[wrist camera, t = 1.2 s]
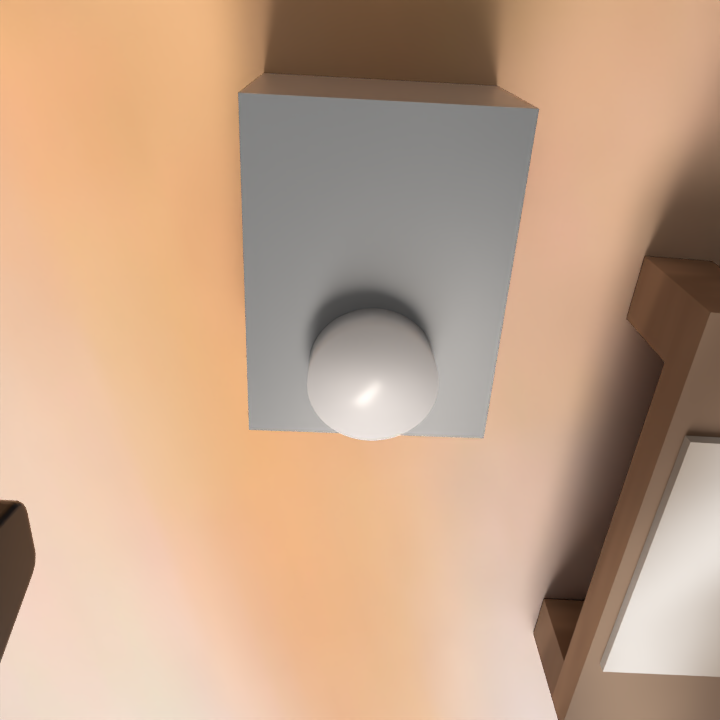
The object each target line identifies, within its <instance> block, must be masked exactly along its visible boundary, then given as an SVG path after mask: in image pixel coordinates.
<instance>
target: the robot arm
mask: <svg viewBox="0 0 720 720" xmlns="http://www.w3.org/2000/svg"><path fill="white" fill-rule="evenodd" d="M34 566H35V548H34V543H33V538H32V533H31V528H30V523H29V518H28V513H27V510H26V507H25V506H24V504H23V503H21V502H19V501H13V500H0V662H1V659H2V656H3V654H4V651H5V648H6V645H7V643H8V640H9V637H10V634H11V632H12V629H13V626H14V623H15V621H16V618H17V615H18V612H19V610H20V607H21V604H22V601H23V599H24V596H25V593H26V590H27V588H28V585H29V582H30V579H31V577H32V574H33V570H34Z"/></svg>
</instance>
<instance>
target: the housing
mask: <svg viewBox="0 0 720 720" xmlns="http://www.w3.org/2000/svg"><path fill="white" fill-rule="evenodd" d="M238 100H239V131H240V162H241V193H242V224H243V255H244V286H245V317H246V348H247V379H248V410H249V430H271V431H298V432H326V433H340V434H343V435H345V436H348V437H351V438H355V439H360V440H384V439H389V438H393V437H396V436H399V435H408V436H436V437H464V438H484V432H485V426H486V420H487V414H488V408H489V403H490V397H491V391H492V385H493V379H494V373H495V367H496V361H497V355H498V349H499V343H500V337H501V331H502V325H503V319H504V313H505V308H506V302H507V296H508V290H509V284H510V278H511V272H512V266H513V260H514V254H515V248H516V242H517V236H518V230H519V224H520V218H521V213H522V207H523V201H524V195H525V189H526V183H527V177H528V171H529V165H530V159H531V153H532V147H533V141H534V135H535V129H536V123H537V118H538V112H539V109H538V108H537V107H535V106H533V105H531V104H529V103H528V102H526V101H524V100H522V99H520V98H519V97H517V96H515V95H513V94H511V93H509V92H508V91H506V90H504V89H502V88H500V87H499V86H493V85H475V84H456V83H438V82H420V81H402V80H383V79H365V78H347V77H329V76H311V75H292V74H274V73H263V74H262V75H260V76H259V77H258V78H257V79H255V80H254V81H253V82H251V83H250V84H249V85H247V86H246V87H245V88H244V89H242V90H241V91H240V92H238Z"/></svg>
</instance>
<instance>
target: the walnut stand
mask: <svg viewBox="0 0 720 720" xmlns="http://www.w3.org/2000/svg"><path fill="white" fill-rule="evenodd" d="M627 320H628V321H629V322H630V323H631V325H632V326H633V327H634V328H635V329H636V330H637V331H638V333H639V334H640V335H641V336H642V337H643V338H644V339H645V340H646V342H647V343H648V344H649V345H650V346H651V347H652V348H653V350H654V351H655V352H656V353H657V354H658V355H659V356H660V358H661V359H662V360H663V361H664V362H665V363H664V366H663V369H662V372H661V375H660V378H659V381H658V384H657V387H656V390H655V393H654V396H653V399H652V402H651V405H650V407H649V410H648V413H647V416H646V419H645V422H644V425H643V428H642V431H641V434H640V437H639V440H638V443H637V446H636V449H635V452H634V455H633V458H632V461H631V464H630V467H629V470H628V473H627V476H626V479H625V482H624V485H623V488H622V491H621V494H620V497H619V500H618V503H617V506H616V509H615V512H614V514H613V517H612V520H611V523H610V526H609V529H608V532H607V535H606V538H605V541H604V544H603V547H602V550H601V553H600V556H599V559H598V562H597V565H596V568H595V571H594V574H593V577H592V580H591V583H590V586H589V589H588V592H587V595H586V598H585V601H579V600H559V599H544V600H543V603H542V607H541V610H540V613H539V617H538V620H537V623H536V627H535V630H534V638H535V641H536V645H537V648H538V652H539V655H540V659H541V662H542V666H543V669H544V672H545V676H546V679H547V683H548V686H549V690H550V693H551V697H552V700H553V704H554V707H555V711H556V714H557V718H558V720H720V267H719V266H718V265H716V264H715V263H714V262H712V261H703V260H689V259H676V258H662V257H649V256H645V258H644V261H643V264H642V268H641V271H640V275H639V278H638V281H637V285H636V288H635V292H634V295H633V298H632V302H631V305H630V308H629V312H628V315H627Z"/></svg>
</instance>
